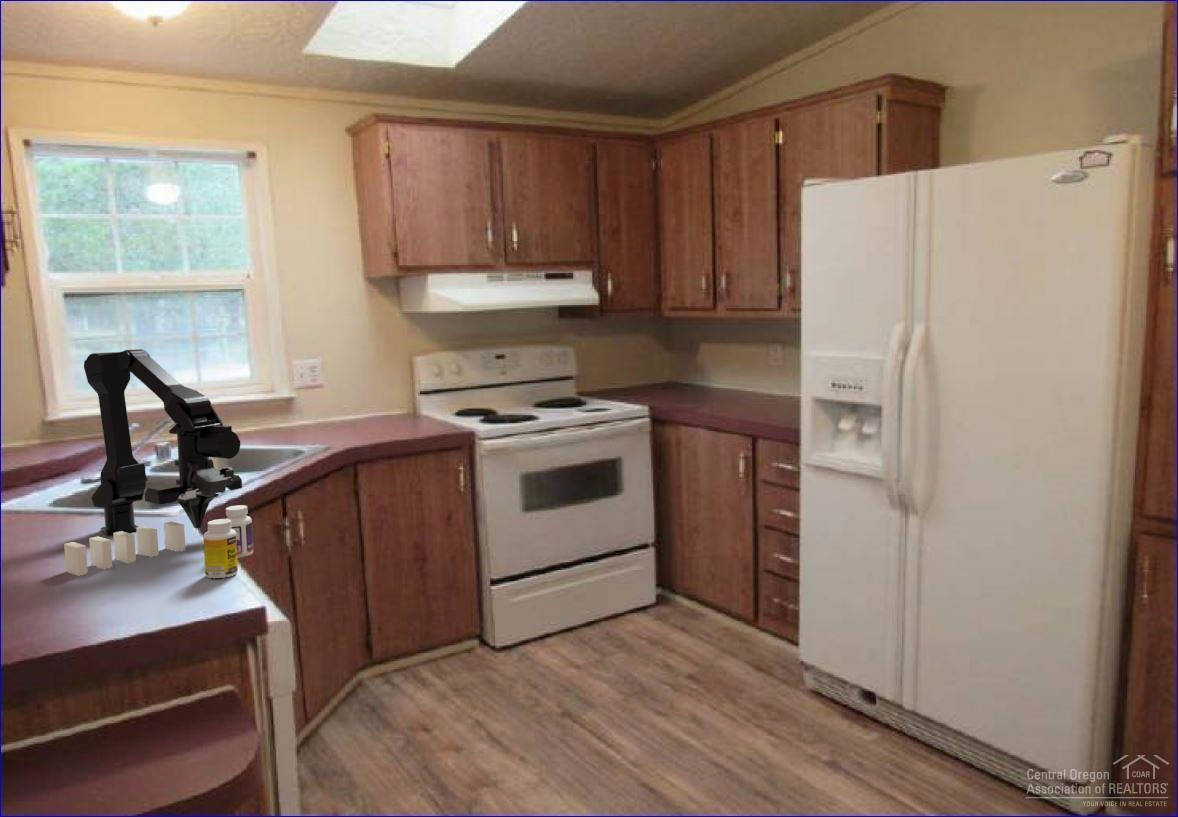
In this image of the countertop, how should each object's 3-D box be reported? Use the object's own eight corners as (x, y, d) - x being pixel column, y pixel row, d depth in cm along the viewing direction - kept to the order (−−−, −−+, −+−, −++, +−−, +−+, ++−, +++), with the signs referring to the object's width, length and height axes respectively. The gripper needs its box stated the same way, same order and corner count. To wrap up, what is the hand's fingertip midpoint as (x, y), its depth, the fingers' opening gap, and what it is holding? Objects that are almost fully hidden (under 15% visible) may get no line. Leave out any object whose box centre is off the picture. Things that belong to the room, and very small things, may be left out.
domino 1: (78, 576, 149) (76, 547, 149) (66, 571, 152) (63, 543, 151) (87, 573, 151) (85, 545, 150) (75, 569, 153) (73, 541, 153)
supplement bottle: (231, 579, 148) (228, 525, 146) (200, 580, 147) (197, 525, 146) (242, 570, 153) (240, 517, 152) (212, 570, 153) (210, 517, 152)
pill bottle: (245, 549, 167) (242, 502, 165) (258, 554, 163) (256, 506, 162) (219, 555, 162) (216, 507, 161) (232, 560, 159) (230, 512, 158)
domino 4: (150, 557, 161) (149, 531, 160) (138, 553, 163) (136, 527, 163) (158, 555, 162) (156, 529, 162) (145, 551, 165) (144, 526, 164)
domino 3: (127, 563, 157) (126, 536, 156) (115, 559, 159) (113, 532, 159) (136, 561, 158) (134, 534, 158) (123, 557, 161) (121, 531, 160)
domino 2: (103, 569, 153) (101, 541, 153) (91, 565, 156) (89, 538, 155) (112, 567, 155) (110, 539, 154) (99, 563, 157) (97, 536, 156)
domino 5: (178, 552, 164) (176, 526, 164) (165, 548, 167) (163, 523, 166) (185, 550, 166) (184, 524, 165) (172, 546, 168) (171, 521, 168)
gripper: (172, 466, 157) (177, 544, 159) (256, 452, 173) (259, 523, 175) (140, 460, 163) (145, 535, 165) (224, 447, 179) (228, 516, 181)
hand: (197, 527), depth 171 cm, fingers closed
